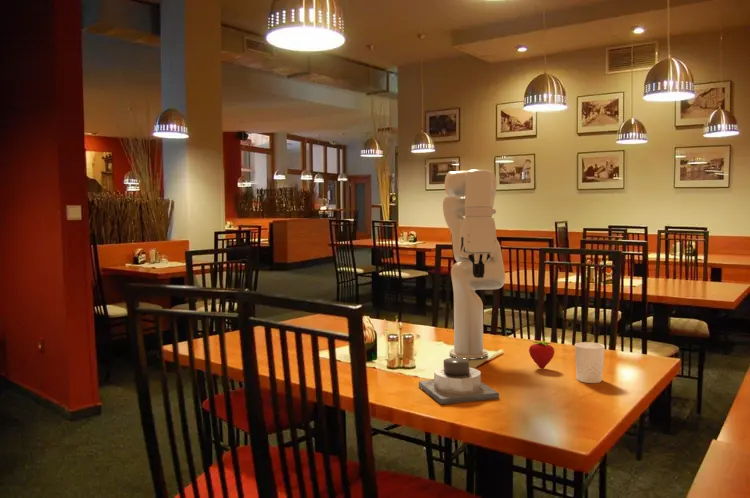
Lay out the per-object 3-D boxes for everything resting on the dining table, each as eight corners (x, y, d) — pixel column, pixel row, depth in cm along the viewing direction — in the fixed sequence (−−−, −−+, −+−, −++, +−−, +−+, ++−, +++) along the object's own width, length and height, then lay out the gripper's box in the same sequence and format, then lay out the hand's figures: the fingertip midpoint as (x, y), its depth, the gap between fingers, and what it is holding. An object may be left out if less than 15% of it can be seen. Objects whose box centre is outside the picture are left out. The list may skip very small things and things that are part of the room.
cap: (439, 384, 160) (439, 359, 160) (462, 382, 162) (462, 356, 162) (450, 391, 154) (449, 365, 154) (473, 389, 156) (473, 362, 156)
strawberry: (529, 365, 185) (529, 333, 185) (554, 366, 183) (555, 334, 182) (527, 369, 180) (528, 337, 179) (553, 371, 177) (554, 338, 176)
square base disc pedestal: (418, 386, 164) (418, 367, 163) (472, 381, 168) (471, 362, 168) (441, 404, 148) (441, 383, 148) (499, 398, 153) (499, 377, 153)
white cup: (569, 380, 168) (570, 345, 168) (581, 374, 174) (582, 340, 173) (597, 385, 163) (597, 349, 162) (608, 379, 169) (609, 344, 168)
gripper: (495, 213, 176) (495, 274, 177) (449, 213, 172) (449, 277, 173) (508, 213, 169) (508, 277, 170) (459, 213, 164) (460, 279, 166)
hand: (478, 277), depth 171 cm, fingers closed
